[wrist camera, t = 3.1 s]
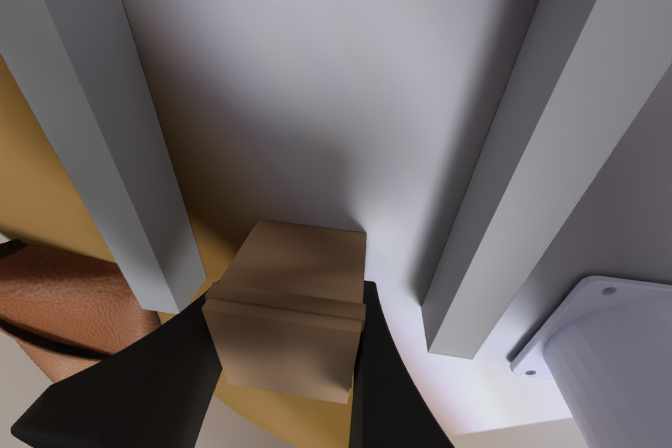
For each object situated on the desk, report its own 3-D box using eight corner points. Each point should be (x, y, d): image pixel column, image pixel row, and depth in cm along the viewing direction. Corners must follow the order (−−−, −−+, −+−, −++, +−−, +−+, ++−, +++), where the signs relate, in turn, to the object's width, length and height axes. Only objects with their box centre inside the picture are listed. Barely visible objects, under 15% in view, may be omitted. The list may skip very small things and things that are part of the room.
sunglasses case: (197, 400, 26) (115, 471, 21) (161, 351, 29) (82, 404, 24) (146, 264, 15) (-37, 347, 11) (97, 210, 18) (-61, 257, 14)
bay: (731, -210, 5) (1046, -425, 3) (459, 313, 14) (475, 370, 12) (-26, -221, 6) (-282, -381, 4) (173, 272, 16) (135, 317, 13)
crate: (369, 231, 12) (364, 331, 8) (356, 305, 15) (348, 405, 11) (256, 217, 13) (197, 306, 8) (266, 292, 16) (226, 384, 11)
